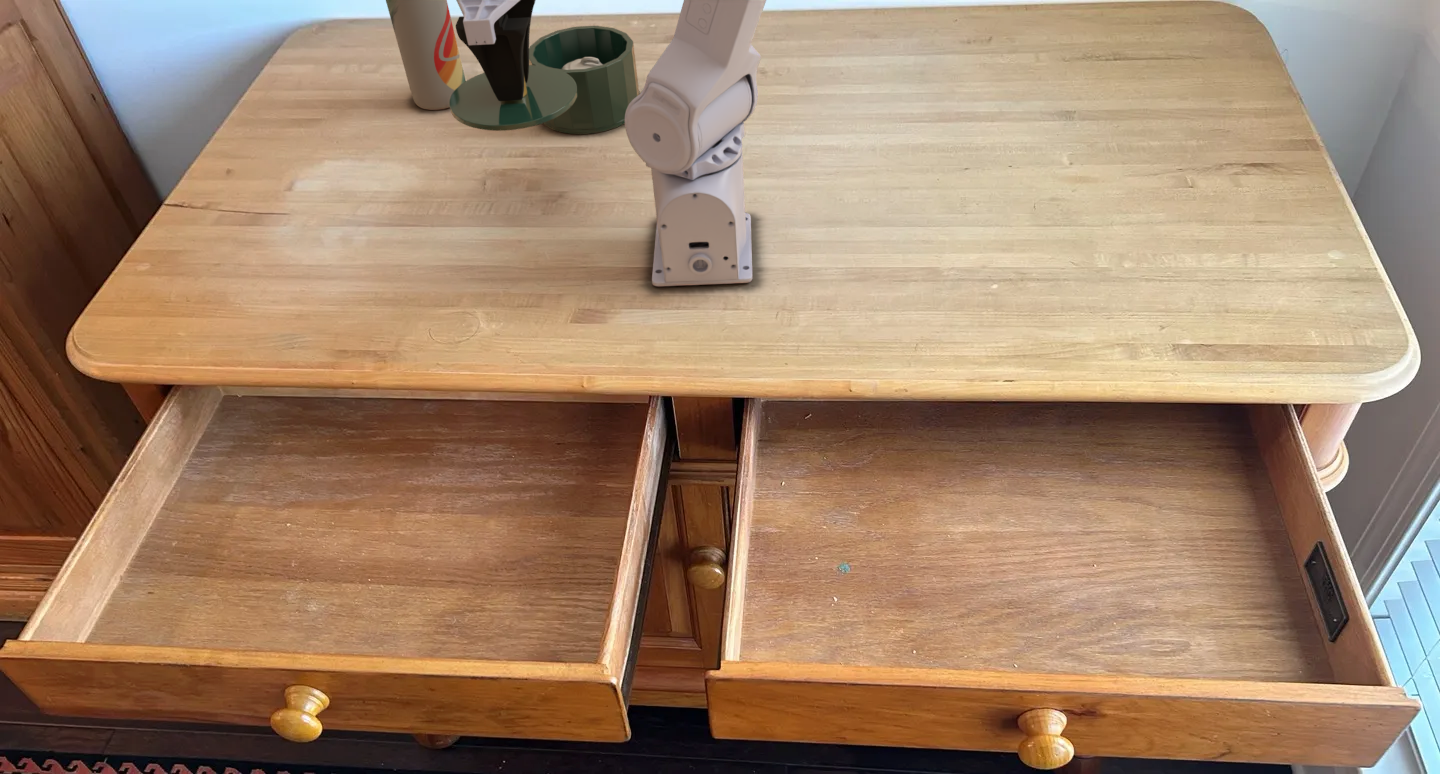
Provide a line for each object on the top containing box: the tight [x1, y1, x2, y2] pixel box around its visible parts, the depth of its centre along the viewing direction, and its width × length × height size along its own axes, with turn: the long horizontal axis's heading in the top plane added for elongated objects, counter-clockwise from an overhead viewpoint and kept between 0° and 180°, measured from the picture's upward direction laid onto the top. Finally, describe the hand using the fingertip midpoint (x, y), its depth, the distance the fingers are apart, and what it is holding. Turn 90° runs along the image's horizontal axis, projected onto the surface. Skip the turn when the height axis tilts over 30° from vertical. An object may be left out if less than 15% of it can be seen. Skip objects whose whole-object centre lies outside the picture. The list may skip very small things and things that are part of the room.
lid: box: [449, 65, 578, 132], centre depth 88 cm, size 11×11×5 cm
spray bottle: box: [385, 0, 466, 111], centre depth 103 cm, size 6×6×20 cm
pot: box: [529, 25, 640, 135], centre depth 104 cm, size 10×10×6 cm
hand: (513, 90), depth 89 cm, fingers closed on lid, 2 cm apart
